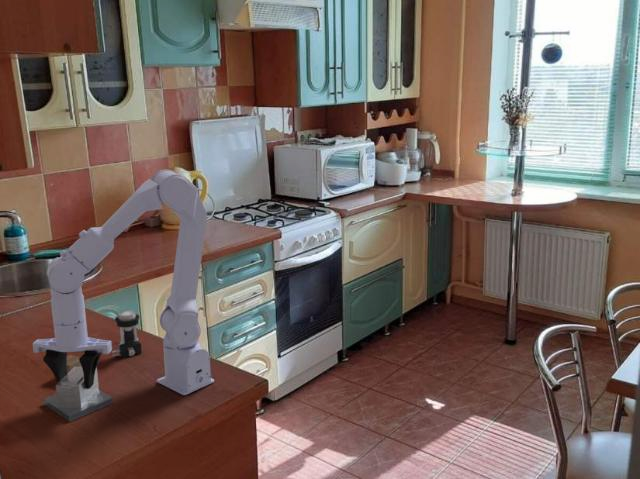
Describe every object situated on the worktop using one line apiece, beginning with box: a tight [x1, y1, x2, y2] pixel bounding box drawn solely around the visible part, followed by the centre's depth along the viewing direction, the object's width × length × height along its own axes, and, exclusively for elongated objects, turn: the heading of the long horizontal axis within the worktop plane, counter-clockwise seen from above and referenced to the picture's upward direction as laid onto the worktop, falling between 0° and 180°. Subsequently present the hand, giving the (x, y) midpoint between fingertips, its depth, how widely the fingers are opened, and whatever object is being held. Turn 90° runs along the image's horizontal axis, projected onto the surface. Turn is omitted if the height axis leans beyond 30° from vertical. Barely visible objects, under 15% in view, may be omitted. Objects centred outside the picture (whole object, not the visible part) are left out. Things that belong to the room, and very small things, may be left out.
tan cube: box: [67, 354, 82, 374], centre depth 129 cm, size 4×4×4 cm
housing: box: [55, 366, 100, 408], centre depth 118 cm, size 8×4×5 cm, turn 177°
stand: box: [43, 388, 114, 423], centre depth 118 cm, size 10×9×1 cm
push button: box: [111, 310, 143, 358], centre depth 139 cm, size 7×5×10 cm
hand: (76, 386), depth 117 cm, fingers open, 4 cm apart
